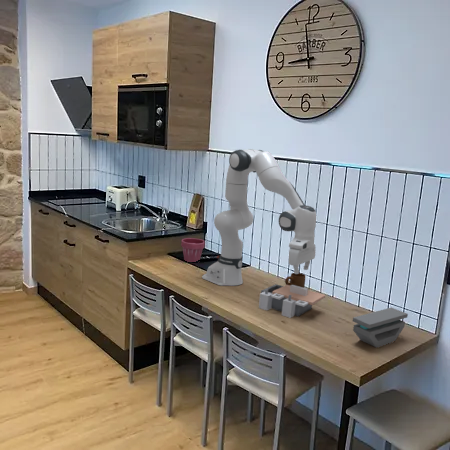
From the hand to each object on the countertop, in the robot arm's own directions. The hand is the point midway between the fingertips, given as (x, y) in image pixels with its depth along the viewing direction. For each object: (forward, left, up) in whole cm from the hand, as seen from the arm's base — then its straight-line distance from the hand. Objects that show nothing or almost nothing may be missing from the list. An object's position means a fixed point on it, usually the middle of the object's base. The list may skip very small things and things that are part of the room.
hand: (301, 271), depth 217 cm
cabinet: (-6, -2, -19) cm, 20 cm away
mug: (-13, +22, -19) cm, 32 cm away
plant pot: (-85, +28, -19) cm, 92 cm away
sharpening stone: (+39, -6, -19) cm, 44 cm away
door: (0, -2, -12) cm, 12 cm away
